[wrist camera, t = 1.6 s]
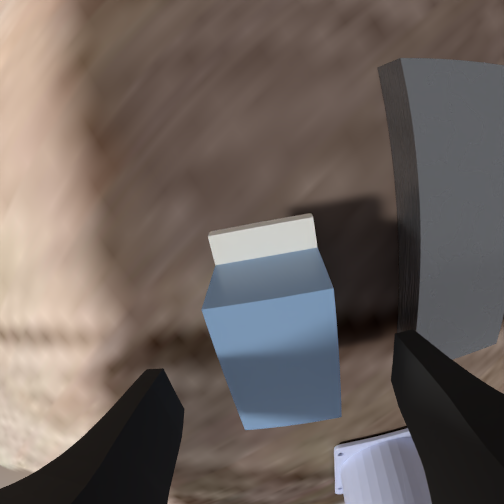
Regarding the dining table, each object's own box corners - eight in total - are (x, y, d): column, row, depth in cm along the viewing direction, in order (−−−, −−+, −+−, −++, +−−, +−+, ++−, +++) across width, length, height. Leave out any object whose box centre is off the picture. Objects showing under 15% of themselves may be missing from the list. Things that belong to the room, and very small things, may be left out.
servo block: (322, 342, 16) (341, 432, 11) (255, 352, 17) (251, 444, 11) (302, 196, 14) (329, 249, 8) (219, 211, 14) (190, 274, 8)
